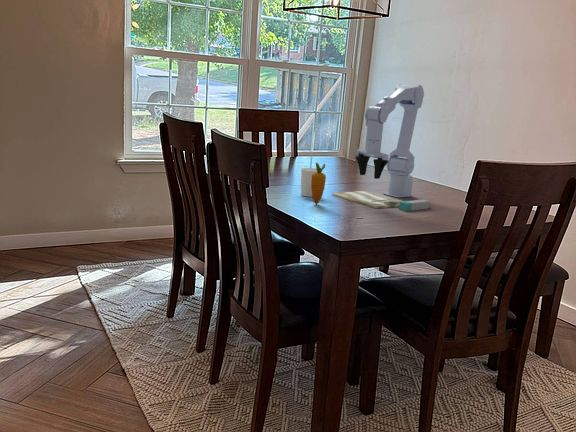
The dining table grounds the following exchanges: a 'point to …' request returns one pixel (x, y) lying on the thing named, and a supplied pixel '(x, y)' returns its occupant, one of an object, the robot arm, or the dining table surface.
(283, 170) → the dining table surface
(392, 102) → the robot arm
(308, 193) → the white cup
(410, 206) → the eraser
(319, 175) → the carrot
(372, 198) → the cream rectangular tray
